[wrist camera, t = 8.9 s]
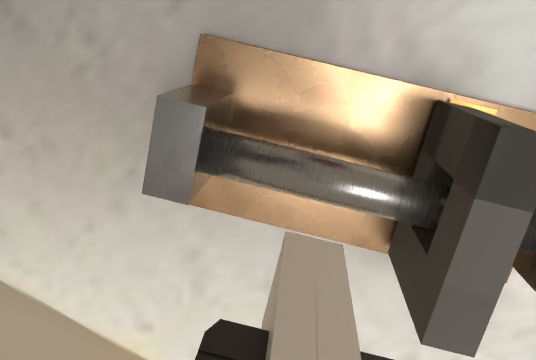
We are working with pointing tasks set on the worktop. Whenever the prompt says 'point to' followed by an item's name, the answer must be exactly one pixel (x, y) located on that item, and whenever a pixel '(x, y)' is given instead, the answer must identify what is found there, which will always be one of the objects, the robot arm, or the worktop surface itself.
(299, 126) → the pipe rig
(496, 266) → the collar
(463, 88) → the worktop surface
